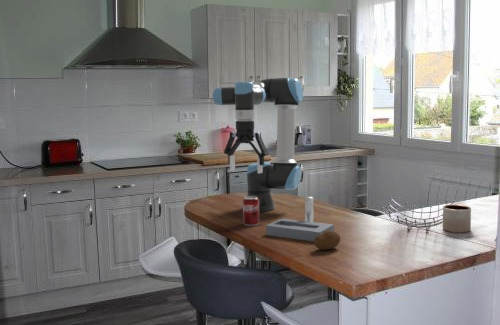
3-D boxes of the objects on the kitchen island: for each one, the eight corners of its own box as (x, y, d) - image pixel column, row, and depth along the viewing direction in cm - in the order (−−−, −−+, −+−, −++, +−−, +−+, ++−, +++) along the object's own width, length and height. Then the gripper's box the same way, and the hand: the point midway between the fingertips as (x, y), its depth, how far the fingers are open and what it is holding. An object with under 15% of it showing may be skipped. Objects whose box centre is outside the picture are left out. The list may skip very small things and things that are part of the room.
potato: (309, 250, 201) (308, 231, 200) (331, 244, 208) (331, 226, 207) (321, 254, 196) (321, 235, 195) (344, 248, 203) (344, 230, 202)
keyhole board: (266, 235, 224) (265, 225, 223) (282, 227, 235) (282, 218, 235) (319, 242, 211) (319, 232, 211) (334, 234, 223) (334, 224, 222)
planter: (469, 227, 229) (470, 205, 227) (471, 234, 219) (472, 210, 217) (442, 226, 232) (442, 203, 231) (442, 232, 222) (443, 209, 221)
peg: (307, 225, 238) (307, 196, 236) (314, 226, 236) (314, 197, 234) (303, 227, 235) (303, 197, 233) (311, 228, 233) (311, 198, 231)
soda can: (257, 226, 238) (257, 199, 237) (241, 225, 240) (241, 199, 238) (260, 222, 245) (260, 196, 244) (245, 222, 247) (244, 195, 245)
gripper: (214, 120, 225) (216, 171, 228) (266, 121, 212) (267, 175, 215) (225, 119, 231) (226, 168, 234) (275, 120, 218) (276, 172, 221)
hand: (246, 172), depth 224 cm, fingers open, 13 cm apart
